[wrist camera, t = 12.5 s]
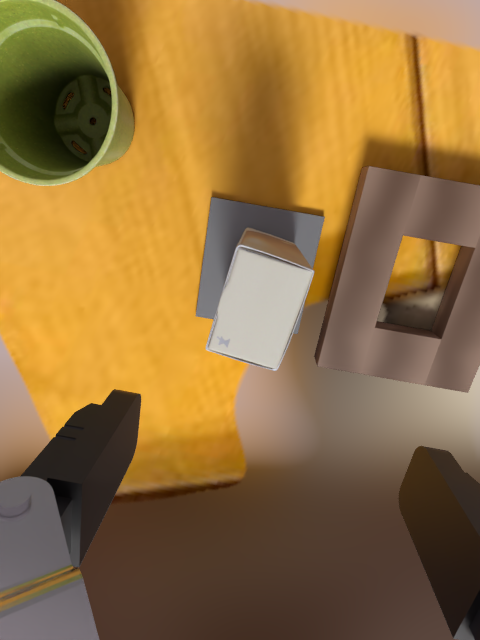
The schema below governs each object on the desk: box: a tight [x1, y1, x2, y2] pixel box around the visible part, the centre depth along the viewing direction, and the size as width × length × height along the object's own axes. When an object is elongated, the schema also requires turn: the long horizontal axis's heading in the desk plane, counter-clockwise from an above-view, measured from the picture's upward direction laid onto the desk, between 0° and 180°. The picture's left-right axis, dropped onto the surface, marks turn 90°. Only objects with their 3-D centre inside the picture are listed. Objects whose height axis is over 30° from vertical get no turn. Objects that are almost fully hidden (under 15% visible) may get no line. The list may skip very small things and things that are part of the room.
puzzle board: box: [314, 166, 480, 392], centre depth 31 cm, size 13×16×2 cm
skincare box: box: [206, 228, 314, 371], centre depth 26 cm, size 6×4×12 cm
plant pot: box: [0, 0, 134, 186], centre depth 25 cm, size 9×9×9 cm
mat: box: [196, 197, 325, 334], centre depth 32 cm, size 9×10×1 cm
